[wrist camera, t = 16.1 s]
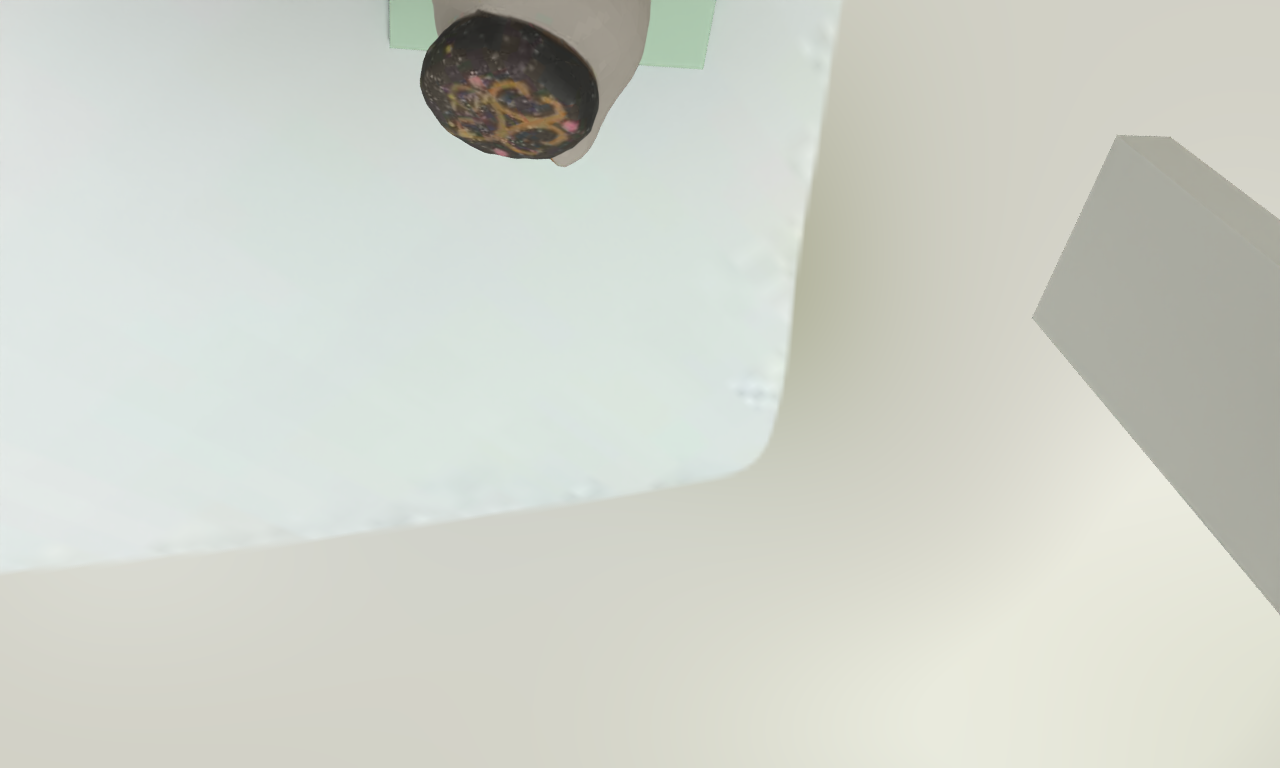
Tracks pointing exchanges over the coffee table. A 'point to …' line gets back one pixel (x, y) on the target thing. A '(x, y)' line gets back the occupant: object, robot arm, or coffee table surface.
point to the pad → (670, 38)
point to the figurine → (531, 71)
